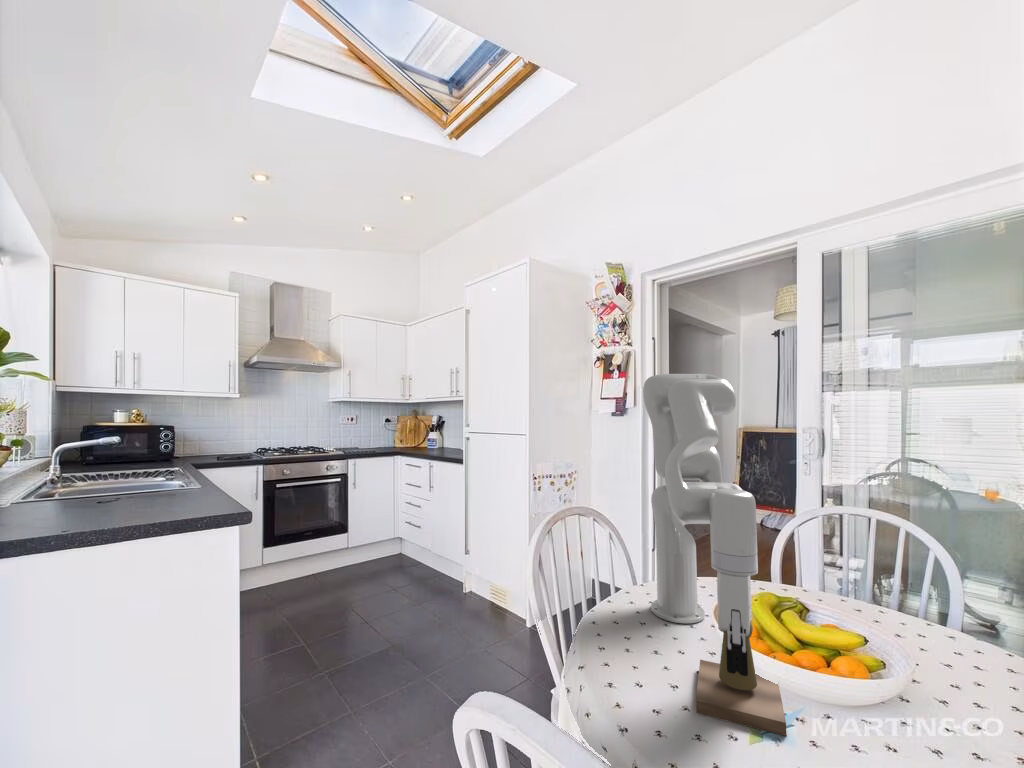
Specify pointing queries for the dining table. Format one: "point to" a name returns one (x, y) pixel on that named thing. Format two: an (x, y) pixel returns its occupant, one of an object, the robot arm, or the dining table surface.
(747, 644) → the olive pawn
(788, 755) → the dining table surface
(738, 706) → the walnut board
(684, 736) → the dining table surface
